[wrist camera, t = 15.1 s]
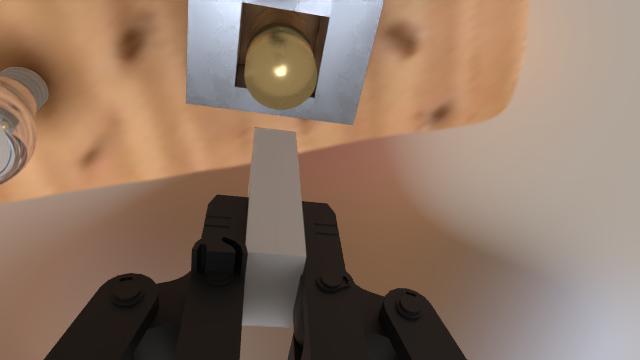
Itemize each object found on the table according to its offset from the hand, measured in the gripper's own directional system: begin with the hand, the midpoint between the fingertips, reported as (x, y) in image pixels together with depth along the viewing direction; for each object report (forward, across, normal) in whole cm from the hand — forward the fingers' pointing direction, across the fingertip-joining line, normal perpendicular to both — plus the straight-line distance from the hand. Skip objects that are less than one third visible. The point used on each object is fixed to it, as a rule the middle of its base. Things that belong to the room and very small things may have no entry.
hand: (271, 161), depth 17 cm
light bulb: (+20, -17, -7) cm, 27 cm away
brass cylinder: (+19, +1, -1) cm, 19 cm away
